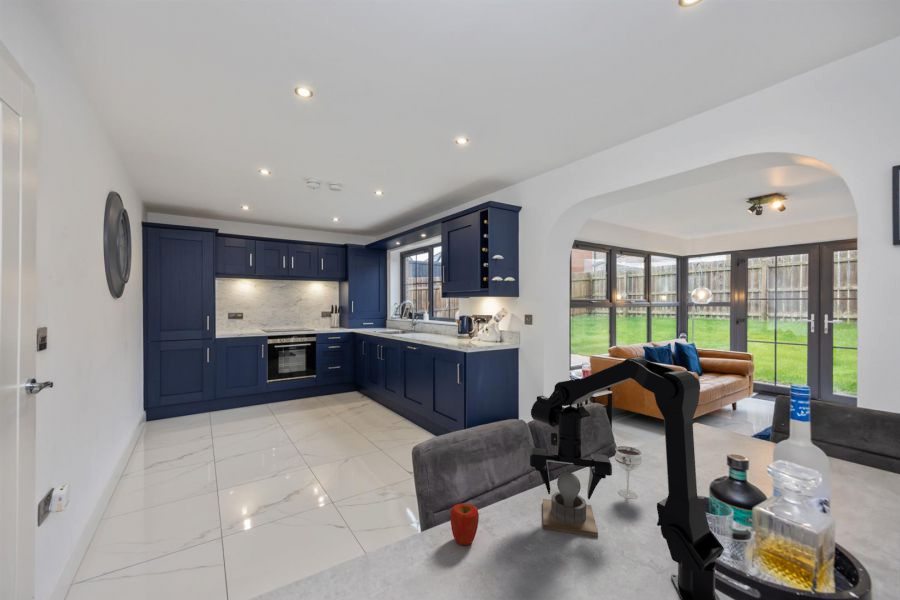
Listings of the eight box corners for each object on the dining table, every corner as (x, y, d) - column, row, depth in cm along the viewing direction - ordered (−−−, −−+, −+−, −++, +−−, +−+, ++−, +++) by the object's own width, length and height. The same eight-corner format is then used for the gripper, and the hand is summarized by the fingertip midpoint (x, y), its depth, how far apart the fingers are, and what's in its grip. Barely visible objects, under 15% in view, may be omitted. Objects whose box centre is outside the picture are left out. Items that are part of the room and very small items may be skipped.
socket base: (598, 537, 85) (598, 517, 85) (543, 528, 88) (543, 509, 88) (590, 509, 97) (591, 491, 97) (542, 502, 100) (543, 485, 100)
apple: (471, 529, 87) (471, 497, 87) (483, 546, 82) (483, 511, 82) (445, 535, 85) (446, 501, 85) (456, 552, 79) (456, 516, 79)
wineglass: (634, 503, 100) (634, 457, 101) (609, 492, 106) (610, 449, 106) (645, 495, 105) (646, 451, 105) (621, 485, 110) (622, 444, 110)
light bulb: (581, 522, 89) (582, 479, 89) (557, 519, 90) (558, 477, 91) (578, 509, 95) (579, 469, 95) (556, 507, 96) (556, 467, 96)
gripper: (604, 425, 98) (603, 485, 98) (531, 419, 103) (530, 476, 103) (612, 440, 88) (611, 508, 87) (530, 432, 92) (529, 497, 92)
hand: (568, 496), depth 93 cm, fingers open, 9 cm apart
